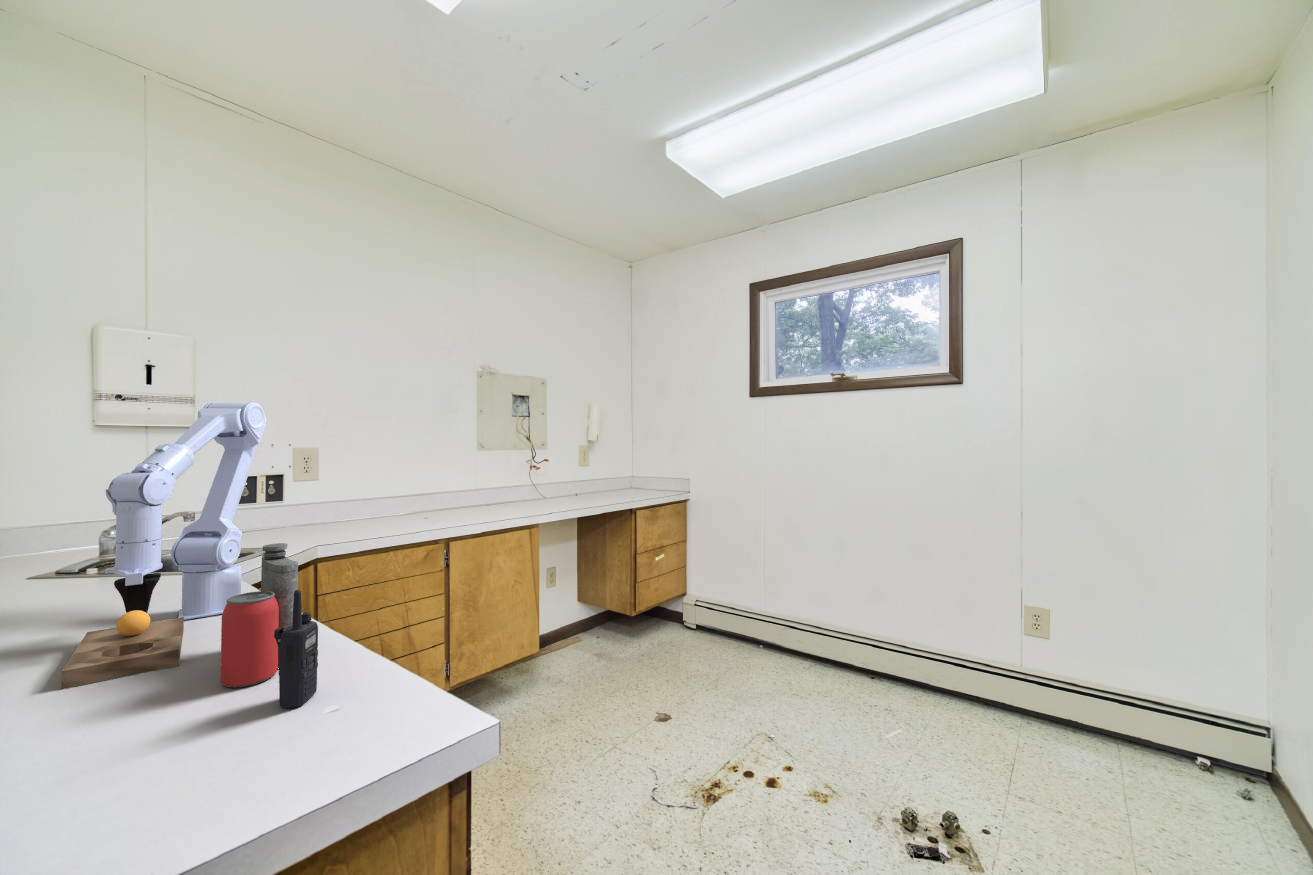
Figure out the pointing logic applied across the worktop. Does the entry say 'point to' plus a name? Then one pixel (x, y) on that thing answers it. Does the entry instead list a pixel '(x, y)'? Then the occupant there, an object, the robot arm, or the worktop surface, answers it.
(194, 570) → the robot arm
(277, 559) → the flask
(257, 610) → the beer can
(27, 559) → the worktop surface
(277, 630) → the two-way radio
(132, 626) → the ball
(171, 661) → the hole board
